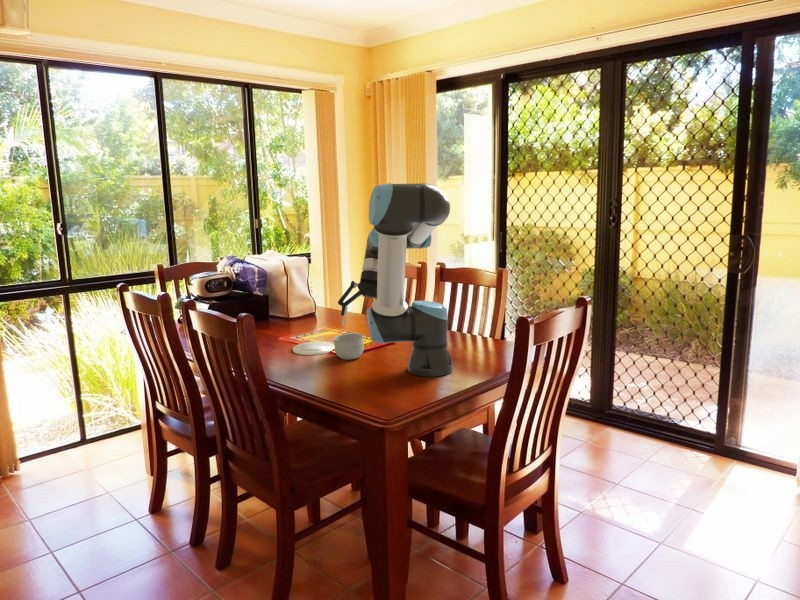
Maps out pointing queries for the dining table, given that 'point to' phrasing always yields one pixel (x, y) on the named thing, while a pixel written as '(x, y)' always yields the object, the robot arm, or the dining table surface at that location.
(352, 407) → the dining table surface
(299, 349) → the saucer
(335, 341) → the teacup
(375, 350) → the dining table surface
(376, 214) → the robot arm
